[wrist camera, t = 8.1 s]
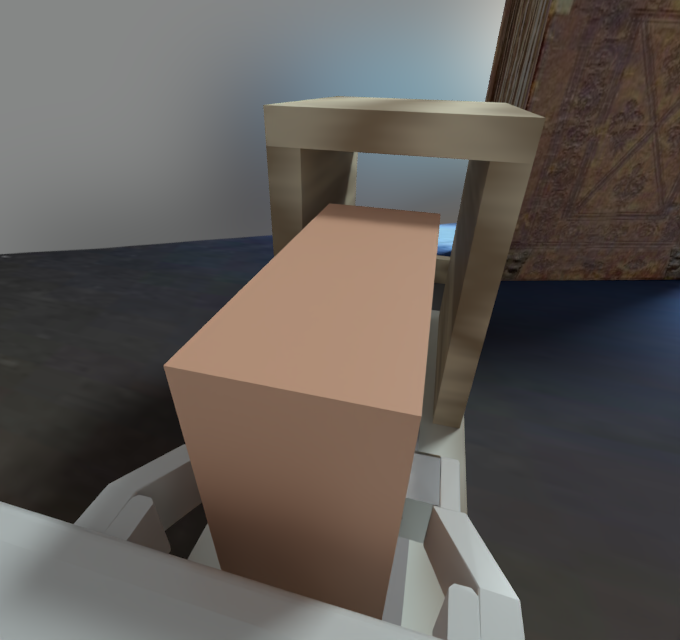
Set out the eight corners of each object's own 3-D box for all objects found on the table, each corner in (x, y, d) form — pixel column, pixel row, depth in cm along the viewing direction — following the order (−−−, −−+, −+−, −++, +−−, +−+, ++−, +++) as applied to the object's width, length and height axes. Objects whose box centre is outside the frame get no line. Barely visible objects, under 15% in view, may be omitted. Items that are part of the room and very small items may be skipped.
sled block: (418, 423, 22) (459, 212, 15) (390, 711, 12) (473, 453, 5) (317, 403, 23) (315, 198, 16) (213, 649, 13) (106, 376, 6)
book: (480, 280, 42) (575, -111, 26) (454, 249, 50) (516, -68, 34) (695, 280, 44) (909, -90, 28) (638, 250, 52) (780, -54, 36)
